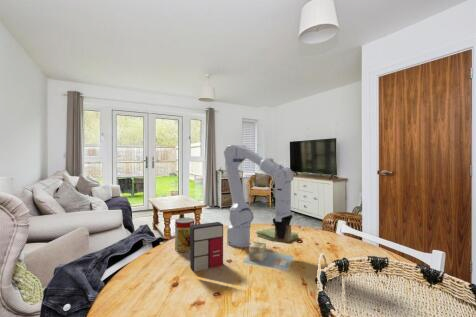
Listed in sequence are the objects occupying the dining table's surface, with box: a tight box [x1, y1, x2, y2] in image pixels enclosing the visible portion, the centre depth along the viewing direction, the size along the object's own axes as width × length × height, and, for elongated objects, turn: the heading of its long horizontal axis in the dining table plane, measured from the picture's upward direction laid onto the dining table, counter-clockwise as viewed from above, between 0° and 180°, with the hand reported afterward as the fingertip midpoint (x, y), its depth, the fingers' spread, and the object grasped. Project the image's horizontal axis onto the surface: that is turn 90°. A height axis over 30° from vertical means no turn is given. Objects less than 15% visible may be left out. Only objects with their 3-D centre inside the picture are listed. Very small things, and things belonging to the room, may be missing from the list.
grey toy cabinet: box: [189, 221, 224, 272], centre depth 80 cm, size 11×4×15 cm, turn 117°
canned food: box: [174, 217, 195, 253], centre depth 98 cm, size 8×8×12 cm
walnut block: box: [274, 224, 292, 243], centre depth 87 cm, size 5×5×5 cm
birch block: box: [248, 241, 267, 262], centre depth 87 cm, size 5×5×5 cm
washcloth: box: [255, 227, 299, 244], centre depth 113 cm, size 13×18×3 cm
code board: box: [242, 251, 294, 272], centre depth 86 cm, size 16×13×1 cm
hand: (282, 236), depth 88 cm, fingers closed on walnut block, 5 cm apart
